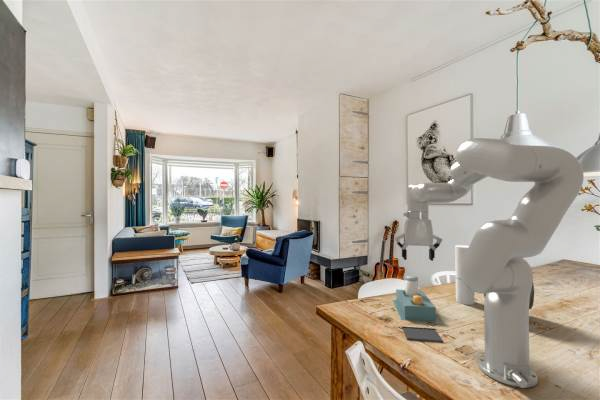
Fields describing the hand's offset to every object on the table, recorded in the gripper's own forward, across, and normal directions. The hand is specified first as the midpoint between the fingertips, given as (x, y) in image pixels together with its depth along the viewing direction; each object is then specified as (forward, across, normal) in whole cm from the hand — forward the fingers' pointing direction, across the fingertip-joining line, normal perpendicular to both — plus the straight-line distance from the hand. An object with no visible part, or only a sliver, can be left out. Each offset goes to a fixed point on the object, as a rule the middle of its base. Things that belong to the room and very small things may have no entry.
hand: (417, 259), depth 105 cm
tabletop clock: (+23, +35, +8) cm, 42 cm away
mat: (+23, -2, -12) cm, 26 cm away
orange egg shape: (+19, 0, 0) cm, 19 cm away
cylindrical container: (+23, +25, +21) cm, 40 cm away
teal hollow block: (+23, 0, +6) cm, 24 cm away
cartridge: (+22, 0, +10) cm, 24 cm away
